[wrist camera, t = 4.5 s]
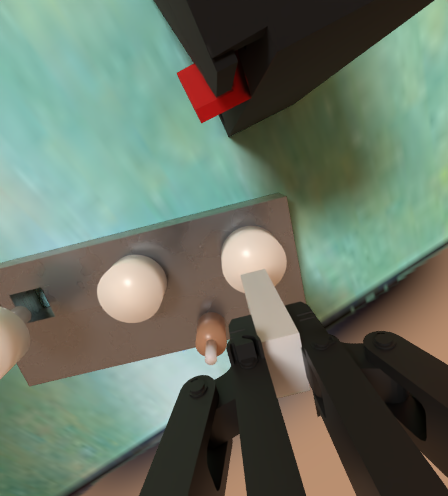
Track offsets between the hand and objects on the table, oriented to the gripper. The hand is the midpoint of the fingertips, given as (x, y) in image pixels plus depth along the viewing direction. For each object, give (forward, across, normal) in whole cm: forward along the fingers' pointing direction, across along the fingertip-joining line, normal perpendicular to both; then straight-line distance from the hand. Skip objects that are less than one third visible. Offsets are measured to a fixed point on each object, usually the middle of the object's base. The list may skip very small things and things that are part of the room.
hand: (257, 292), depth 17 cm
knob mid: (+11, -9, 0) cm, 14 cm away
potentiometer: (+8, -4, -6) cm, 11 cm away
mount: (+11, -9, -2) cm, 15 cm away
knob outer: (+11, +1, 0) cm, 11 cm away
